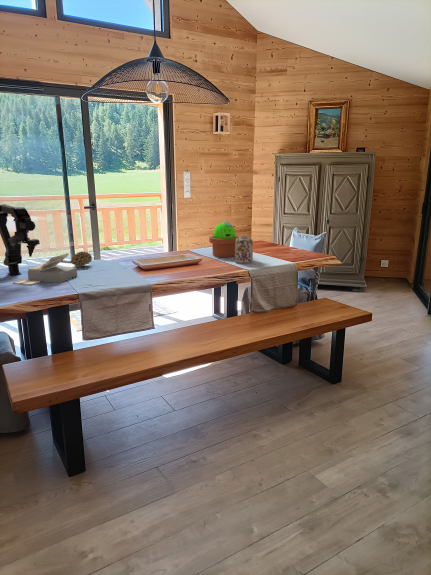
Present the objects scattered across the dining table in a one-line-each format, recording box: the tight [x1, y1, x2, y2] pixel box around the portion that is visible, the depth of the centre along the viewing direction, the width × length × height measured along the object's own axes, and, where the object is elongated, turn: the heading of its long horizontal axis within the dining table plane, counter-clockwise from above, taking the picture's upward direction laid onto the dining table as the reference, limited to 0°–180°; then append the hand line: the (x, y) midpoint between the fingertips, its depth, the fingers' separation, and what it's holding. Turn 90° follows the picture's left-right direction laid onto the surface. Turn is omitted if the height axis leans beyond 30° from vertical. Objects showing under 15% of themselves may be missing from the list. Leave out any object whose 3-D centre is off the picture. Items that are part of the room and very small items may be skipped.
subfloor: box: [27, 263, 78, 283], centre depth 243 cm, size 22×16×6 cm
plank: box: [12, 278, 42, 286], centre depth 233 cm, size 13×7×1 cm, turn 71°
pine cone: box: [60, 251, 93, 268], centre depth 270 cm, size 22×10×10 cm, turn 111°
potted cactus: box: [208, 221, 241, 258], centre depth 303 cm, size 22×22×25 cm
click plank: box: [38, 252, 70, 271], centre depth 241 cm, size 13×14×1 cm
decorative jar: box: [234, 234, 254, 264], centre depth 283 cm, size 12×12×18 cm
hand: (25, 256), depth 240 cm, fingers open, 7 cm apart
